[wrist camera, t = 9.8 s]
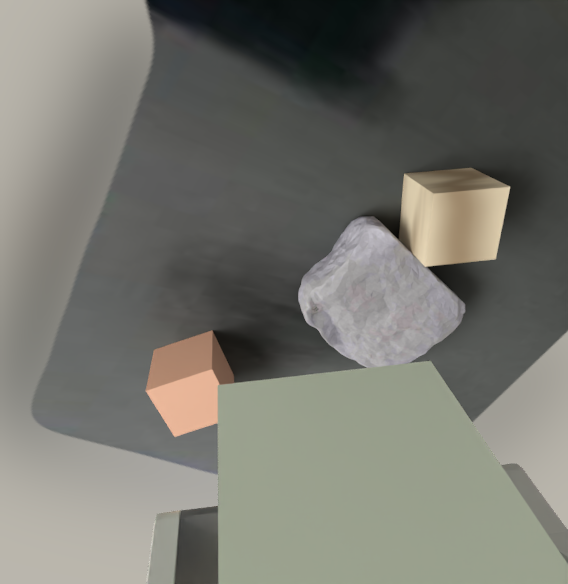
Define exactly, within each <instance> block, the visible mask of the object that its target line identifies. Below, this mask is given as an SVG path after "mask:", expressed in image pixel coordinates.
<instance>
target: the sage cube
mask: <svg viewBox="0 0 568 584" xmlns="http://www.w3.org/2000/svg"><path fill="white" fill-rule="evenodd" d="M218 584H568V564H567V562H566V561H565V559H564V558H563V556H562V555H561V553H560V552H559V550H558V549H557V547H556V546H555V544H554V543H553V541H552V540H551V538H550V537H549V535H548V534H547V533H546V531H545V530H544V528H543V527H542V525H541V524H540V522H539V521H538V519H537V518H536V516H535V515H534V513H533V512H532V510H531V509H530V507H529V506H528V504H527V503H526V501H525V500H524V499H523V497H522V496H521V494H520V493H519V491H518V490H517V488H516V487H515V485H514V484H513V482H512V481H511V479H510V478H509V476H508V475H507V473H506V472H505V470H504V469H503V467H502V466H501V465H500V463H499V462H498V460H497V459H496V457H495V456H494V454H493V453H492V451H491V450H490V448H489V447H488V445H487V444H486V442H485V441H484V440H483V438H482V437H481V435H480V433H479V432H478V431H477V429H476V428H475V426H474V425H473V423H472V422H471V420H470V419H469V417H468V416H467V414H466V413H465V411H464V410H463V408H462V407H461V405H460V404H459V402H458V401H457V399H456V398H455V397H454V395H453V394H452V392H451V391H450V389H449V388H448V386H447V385H446V383H445V382H444V380H443V379H442V377H441V376H440V374H439V373H438V371H437V370H436V368H435V367H434V365H433V364H432V363H431V361H425V362H416V363H407V364H398V365H390V366H381V367H372V368H363V369H354V370H346V371H337V372H328V373H319V374H311V375H302V376H293V377H284V378H275V379H267V380H258V381H249V382H240V383H232V384H223V385H218Z"/></svg>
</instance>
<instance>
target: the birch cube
mask: <svg viewBox="0 0 568 584" xmlns="http://www.w3.org/2000/svg"><path fill="white" fill-rule="evenodd" d="M509 191H510V186H508V185H506V184H504V183H502V182H499V181H497V180H495V179H493V178H491V177H489V176H487V175H485V174H483V173H481V172H479V171H477V170H475V169H473V168H463V169H451V170H439V171H428V172H416V173H404V182H403V194H402V206H401V218H400V230H399V240H400V241H401V242H402V243H403V244H404V245H405V246H406V247H407V248H408V249H409V250H410V251H411V252H412V253H413V255H414V256H415V257H416V258H417V259H418V260H419V261H420V262H421V263H422V264H423V265H424V266H425V267H427V266H437V265H446V264H456V263H465V262H474V261H484V260H493V259H496V255H497V250H498V245H499V240H500V235H501V230H502V225H503V220H504V216H505V211H506V206H507V201H508V196H509Z"/></svg>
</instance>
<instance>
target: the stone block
mask: <svg viewBox="0 0 568 584" xmlns="http://www.w3.org/2000/svg"><path fill="white" fill-rule="evenodd" d="M298 297H299V303H300V306H301V310H302V312H303V315H304V317H305V320H306V322H307V323H308V324H309V325H310V326H313V327H315V328H317V329H318V330H319V332H320V334H321V335H322V337H323V338H324V339H325V340H326V341H327V343H328V344H329V345H331V346H332V347H334V348H335V349H336V350H337V351H338V352H339V353H341V354H342V355H344V356H346V357H347V358H350V359H353V360H356V361H357V362H358V363H359V364H361V365H364V366H366V367H368V368H372V367H381V366H390V365H398V364H407V363H409V362H411V361H413V360H414V359H416V358H417V357H419V356H421V355H423V354H425V353H426V352H427V351H428V350H429V349H430V348H431V347H432V346H433V345H434V344H436V343H438V342H440V341H442V340H443V339H444V338H445V337H447V336H448V335H449V334H451V333H452V332H453V331H454V330H455V329H456V328H457V326H458V325H459V324H460V323H461V321H462V318H463V313H465V303H464V302H463V301H462V300H461V299H460V298H459V297H458V296H457V295H456V294H455V293H454V292H453V291H452V290H451V289H450V288H449V287H448V286H447V285H445V284H444V283H443V282H442V281H441V280H440V279H439V278H438V277H437V276H436V275H435V274H434V273H433V272H432V271H431V270H430V269H429V268H428V267H425V266H424V265H423V264H422V263H421V262H420V261H419V260H418V259H417V258H416V257H415V256H414V255H413V253H412V252H411V251H410V250H409V249H408V248H407V247H406V246H405V245H404V244H403V243H402V242H400V241H399V240H398V239H397V238H396V237H395V236H394V235H393V234H392V233H391V232H390V231H389V230H388V229H387V228H386V227H385V226H384V225H383V224H382V223H381V222H380V221H379V220H378V219H376V218H375V217H374V216H361V217H359V218H357V219H355V220H353V221H352V222H351V223H350V224H349V225H348V226H347V227H346V229H345V231H344V232H343V233H342V234H341V236H340V238H339V240H338V241H337V242H336V244H335V245H334V247H333V250H332V251H331V252H330V253H329V255H328V256H326V257H325V258H324V259H322V260H321V261H320V262H318V263H316V264H315V265H314V266H313V267H312V268H311V269H310V270H309V271H308V272H307V273H306V274H305V275H304V277H303V278H302V282H301V286H300V289H299V293H298Z"/></svg>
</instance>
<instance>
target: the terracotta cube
mask: <svg viewBox="0 0 568 584" xmlns="http://www.w3.org/2000/svg"><path fill="white" fill-rule="evenodd" d="M232 383H234V375H233V373H232V371H231V368H230V366H229V364H228V362H227V360H226V358H225V356H224V354H223V352H222V350H221V347H220V345H219V343H218V341H217V339H216V337H215V335H214V333H213V331H209V332H206V333H203V334H200V335H197V336H194V337H191V338H188V339H185V340H182V341H179V342H176V343H173V344H170V345H167V346H164V347H161V348H158V349H155V350H154V353H153V358H152V363H151V368H150V373H149V378H148V383H147V388H146V392H147V394H148V395H149V397H150V398H151V400H152V402H153V403H154V405H155V406H156V408H157V410H158V411H159V413H160V414H161V416H162V417H163V419H164V421H165V422H166V424H167V425H168V427H169V429H170V430H171V432H172V433H173V435H174V437H176V436H179V435H182V434H185V433H188V432H191V431H194V430H197V429H200V428H203V427H206V426H210V425H213V424H216V423H218V385H223V384H232Z"/></svg>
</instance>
